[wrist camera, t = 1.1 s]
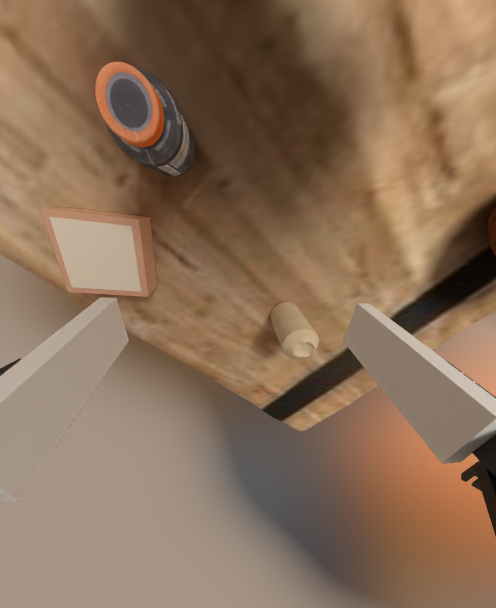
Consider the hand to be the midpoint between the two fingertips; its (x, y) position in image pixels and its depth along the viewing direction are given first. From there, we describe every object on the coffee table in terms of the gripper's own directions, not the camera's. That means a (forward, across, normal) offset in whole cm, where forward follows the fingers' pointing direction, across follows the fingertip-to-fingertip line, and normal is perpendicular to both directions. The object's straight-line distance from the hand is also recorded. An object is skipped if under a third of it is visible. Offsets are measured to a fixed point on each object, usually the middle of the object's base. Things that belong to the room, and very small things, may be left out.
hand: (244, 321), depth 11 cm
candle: (+20, +10, -12) cm, 26 cm away
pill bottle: (+21, -8, +11) cm, 25 cm away
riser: (+20, -17, -2) cm, 26 cm away
